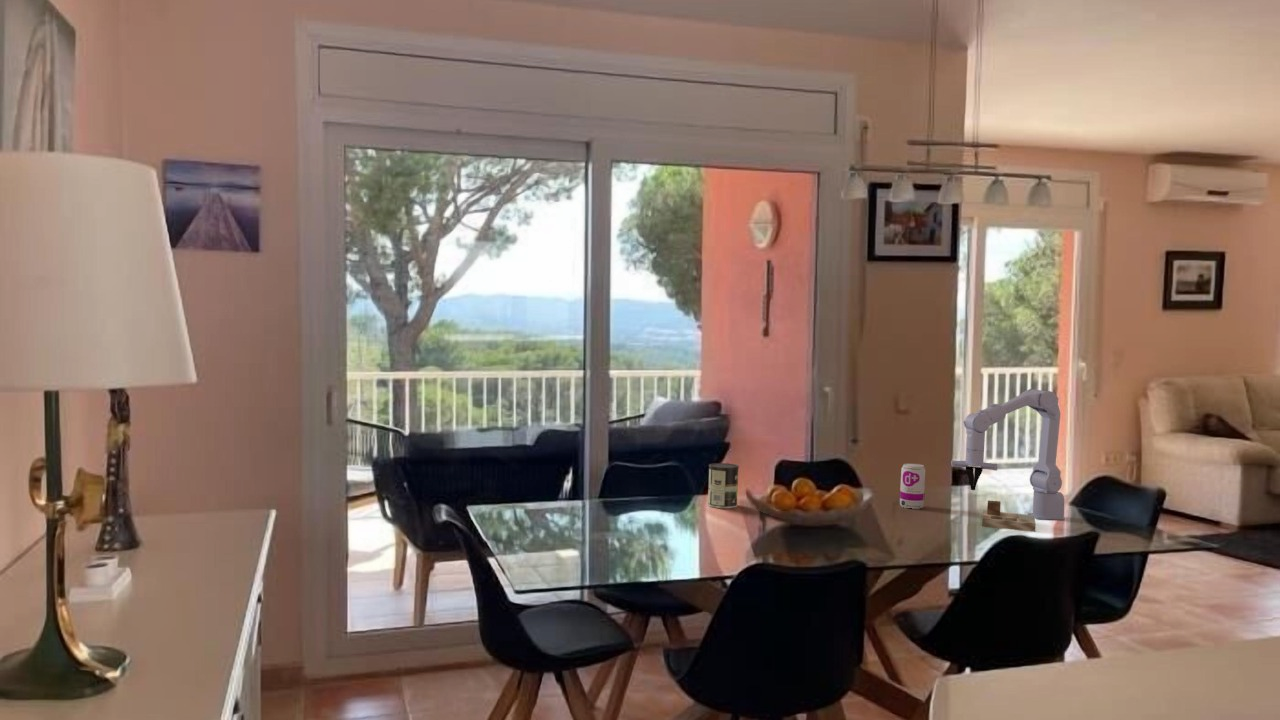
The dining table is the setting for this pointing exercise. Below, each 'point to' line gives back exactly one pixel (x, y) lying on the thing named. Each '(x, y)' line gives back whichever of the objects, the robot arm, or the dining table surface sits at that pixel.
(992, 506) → the walnut block
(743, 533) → the dining table surface
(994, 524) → the wooden board
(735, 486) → the coffee can
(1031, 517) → the pad
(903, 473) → the supplement can
